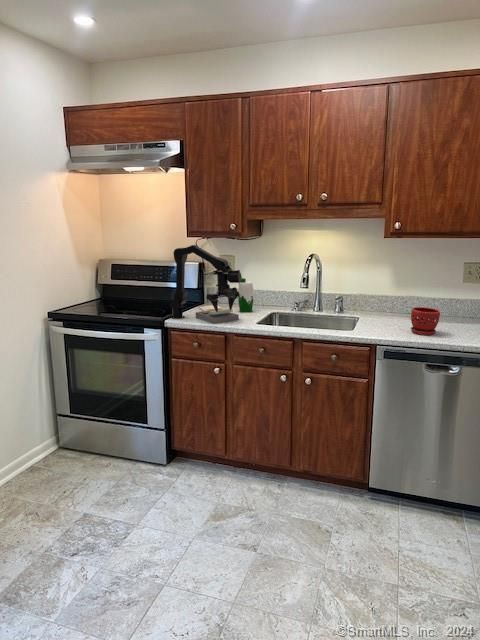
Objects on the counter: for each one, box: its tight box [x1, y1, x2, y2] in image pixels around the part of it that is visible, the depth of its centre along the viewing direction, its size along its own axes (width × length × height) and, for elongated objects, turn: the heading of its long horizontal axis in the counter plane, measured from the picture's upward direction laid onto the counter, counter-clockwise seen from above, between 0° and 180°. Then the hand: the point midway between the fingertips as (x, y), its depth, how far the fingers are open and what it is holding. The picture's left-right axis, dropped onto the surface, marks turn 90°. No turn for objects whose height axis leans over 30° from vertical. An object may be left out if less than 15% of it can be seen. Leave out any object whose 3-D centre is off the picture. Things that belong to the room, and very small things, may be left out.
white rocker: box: [198, 305, 224, 313], centre depth 268 cm, size 6×12×2 cm, turn 127°
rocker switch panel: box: [195, 311, 240, 325], centre depth 264 cm, size 20×16×3 cm
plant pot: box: [410, 306, 441, 336], centre depth 229 cm, size 13×13×12 cm
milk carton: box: [237, 277, 254, 313], centre depth 283 cm, size 9×9×20 cm
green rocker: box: [209, 308, 234, 315], centre depth 260 cm, size 6×12×2 cm, turn 126°
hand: (223, 310), depth 258 cm, fingers open, 9 cm apart
